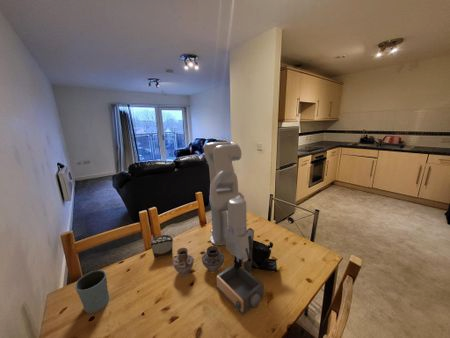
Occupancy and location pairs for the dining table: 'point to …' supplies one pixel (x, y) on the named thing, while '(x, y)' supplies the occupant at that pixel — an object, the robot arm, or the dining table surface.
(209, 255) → the pottery
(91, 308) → the grey green cup
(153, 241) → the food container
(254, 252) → the vintage camera
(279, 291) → the dining table surface
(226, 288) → the door
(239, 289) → the grey open drawer box
